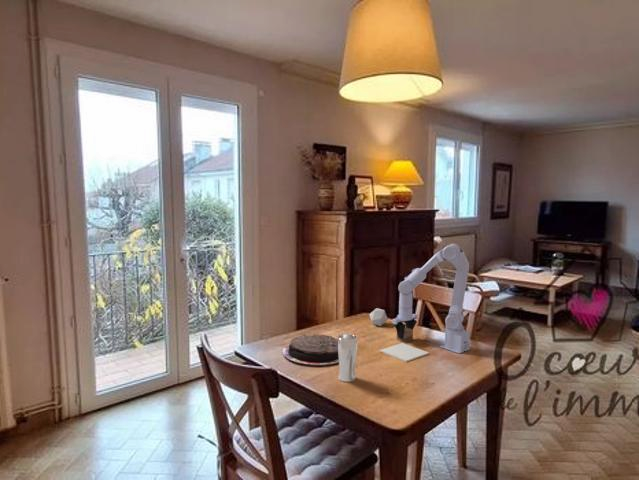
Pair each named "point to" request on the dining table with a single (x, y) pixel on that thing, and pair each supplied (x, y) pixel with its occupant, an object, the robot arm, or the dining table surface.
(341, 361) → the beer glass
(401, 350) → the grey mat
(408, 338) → the walnut cube
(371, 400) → the dining table surface
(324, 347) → the chocolate cake
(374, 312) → the die
